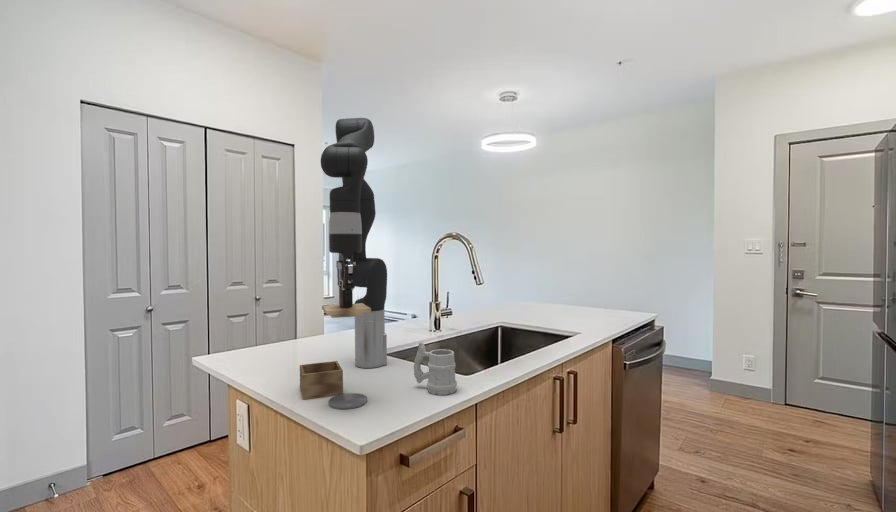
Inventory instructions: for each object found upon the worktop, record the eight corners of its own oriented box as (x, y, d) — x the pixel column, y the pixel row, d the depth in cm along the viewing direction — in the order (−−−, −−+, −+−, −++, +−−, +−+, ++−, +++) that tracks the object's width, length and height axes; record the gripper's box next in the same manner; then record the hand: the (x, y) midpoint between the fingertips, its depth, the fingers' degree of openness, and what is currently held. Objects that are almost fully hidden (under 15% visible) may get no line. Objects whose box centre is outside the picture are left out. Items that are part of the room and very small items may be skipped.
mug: (450, 397, 105) (450, 348, 104) (407, 391, 109) (406, 344, 109) (461, 387, 112) (461, 341, 111) (420, 382, 116) (419, 338, 116)
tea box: (337, 382, 116) (337, 360, 116) (343, 394, 108) (342, 370, 107) (299, 387, 113) (299, 364, 112) (302, 399, 104) (302, 375, 104)
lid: (362, 310, 108) (362, 285, 108) (371, 316, 99) (370, 288, 99) (322, 312, 104) (321, 286, 104) (327, 319, 95) (326, 290, 95)
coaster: (363, 393, 108) (363, 391, 108) (371, 405, 100) (371, 403, 99) (326, 398, 104) (326, 396, 104) (331, 411, 96) (331, 409, 96)
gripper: (367, 231, 96) (368, 308, 96) (355, 233, 109) (356, 301, 109) (333, 231, 93) (334, 310, 93) (325, 233, 106) (326, 303, 106)
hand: (346, 305), depth 101 cm, fingers closed on lid, 3 cm apart
